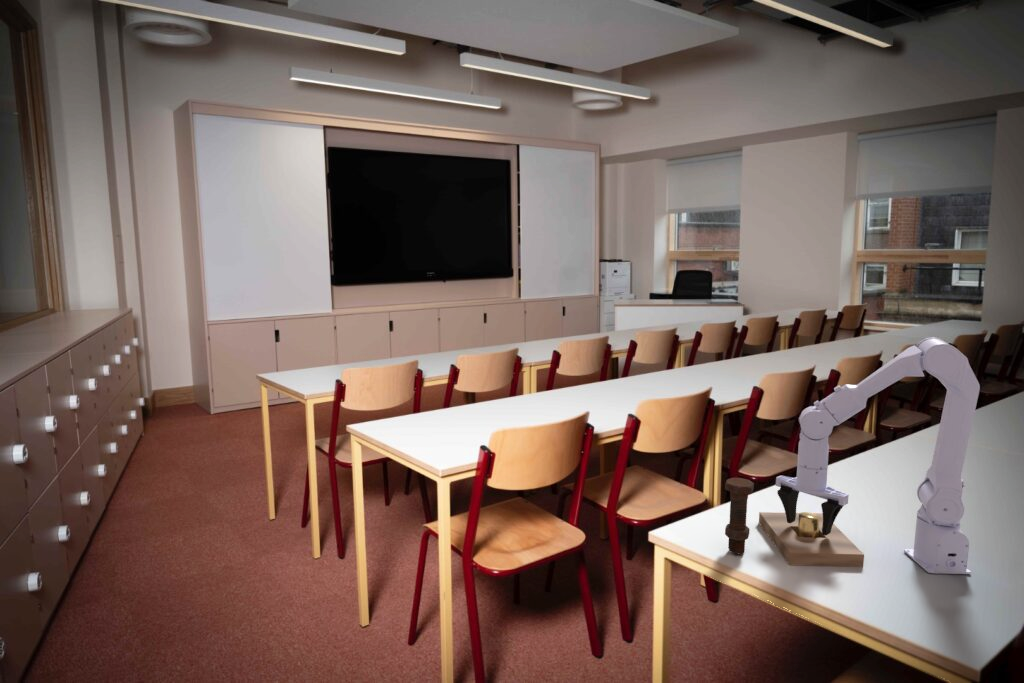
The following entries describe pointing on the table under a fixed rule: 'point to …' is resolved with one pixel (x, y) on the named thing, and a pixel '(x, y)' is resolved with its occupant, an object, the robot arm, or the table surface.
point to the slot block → (810, 543)
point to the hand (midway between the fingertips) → (808, 527)
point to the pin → (808, 525)
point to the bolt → (738, 513)
